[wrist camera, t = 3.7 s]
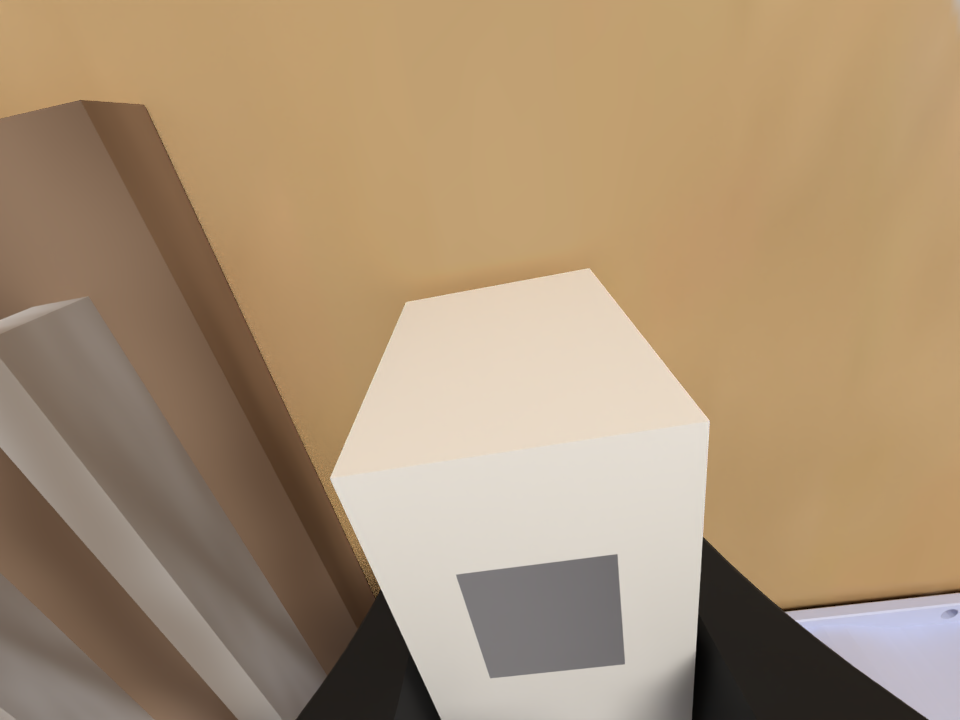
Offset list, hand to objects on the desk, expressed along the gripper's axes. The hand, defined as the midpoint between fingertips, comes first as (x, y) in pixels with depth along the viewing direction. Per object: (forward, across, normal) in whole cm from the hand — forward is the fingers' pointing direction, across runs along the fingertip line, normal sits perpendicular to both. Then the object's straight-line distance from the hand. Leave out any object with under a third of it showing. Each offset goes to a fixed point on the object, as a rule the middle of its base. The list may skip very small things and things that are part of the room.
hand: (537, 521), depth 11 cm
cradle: (+2, +12, +1) cm, 12 cm away
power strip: (+2, 0, 0) cm, 2 cm away
